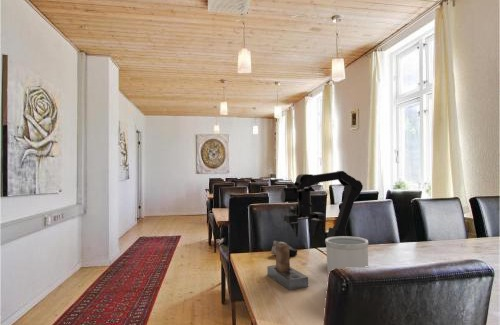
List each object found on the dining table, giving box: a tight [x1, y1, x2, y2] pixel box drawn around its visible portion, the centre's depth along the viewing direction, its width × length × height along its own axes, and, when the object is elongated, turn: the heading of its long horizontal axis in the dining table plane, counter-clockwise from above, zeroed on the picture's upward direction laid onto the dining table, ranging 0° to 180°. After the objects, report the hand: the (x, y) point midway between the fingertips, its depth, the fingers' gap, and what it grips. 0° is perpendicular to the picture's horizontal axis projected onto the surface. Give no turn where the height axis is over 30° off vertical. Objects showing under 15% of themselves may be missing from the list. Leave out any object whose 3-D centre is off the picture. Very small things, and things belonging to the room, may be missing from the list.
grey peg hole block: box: [266, 264, 309, 291], centre depth 118 cm, size 18×8×4 cm, turn 22°
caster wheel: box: [270, 240, 298, 257], centre depth 155 cm, size 7×11×10 cm
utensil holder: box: [324, 235, 369, 276], centre depth 109 cm, size 15×15×18 cm
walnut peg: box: [275, 243, 291, 272], centre depth 121 cm, size 4×4×13 cm
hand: (305, 236), depth 137 cm, fingers open, 9 cm apart
